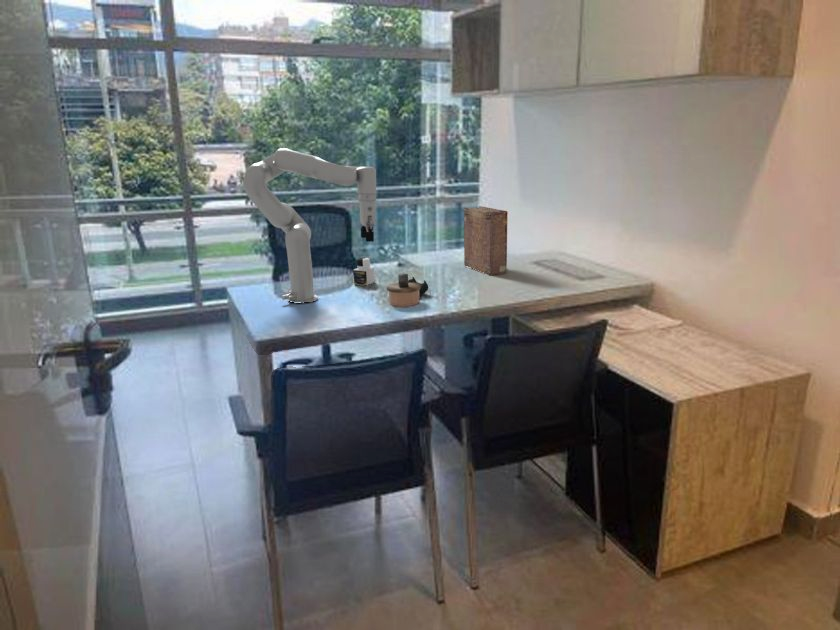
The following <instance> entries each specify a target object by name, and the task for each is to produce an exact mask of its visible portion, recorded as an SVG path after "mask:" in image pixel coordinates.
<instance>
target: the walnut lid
mask: <svg viewBox="0 0 840 630" xmlns="http://www.w3.org/2000/svg"><path fill="white" fill-rule="evenodd" d="M397 277H398V280H397V281H398V282H395V283H391V284H388V285H386V287H385V288H386V291H388V292H389V291H390V292H396V293H407V292H414V291H418V290H420V289H421V285H419V284H417V283H408V280H409V274H408V273H404V272H403V273H398V275H397Z"/></svg>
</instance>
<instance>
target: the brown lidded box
mask: <svg viewBox="0 0 840 630" xmlns="http://www.w3.org/2000/svg"><path fill="white" fill-rule="evenodd" d="M508 214H509V213H508V211H507V210H503V209H497V208H493V207H488V206H482V205H479V206H478V207H470V208H469V207H463V247H464V248H463V249H464V251H463V252H464V255H463V256H464V257H463V258H464V259H463V261H464V265H465V266H468V267H471V268H474V269H476V270H479V271H481V272H480V273H482V272H484V273H483V274H485V273H486V274H485V275H487V274H489V275H488V276H495V274H497V275H502V274H501V273H504V274H507V271H508V267H507V265H508V263H507V261H508V255H507V254H508ZM464 265H463V266H464ZM465 266H464V267H465ZM476 270H475V271H476ZM479 271H478V272H479Z"/></svg>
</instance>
